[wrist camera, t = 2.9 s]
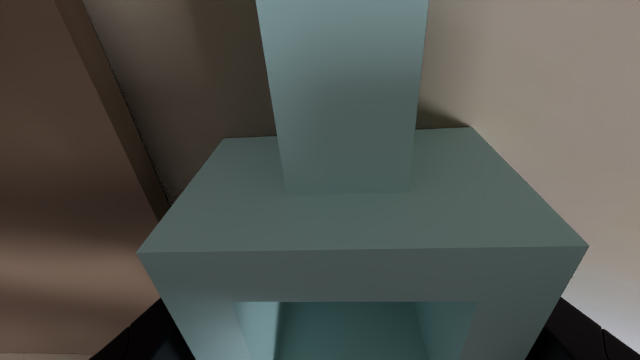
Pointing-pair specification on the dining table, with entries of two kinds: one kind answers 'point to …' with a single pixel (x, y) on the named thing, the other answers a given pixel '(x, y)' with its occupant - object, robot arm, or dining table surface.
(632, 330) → the dining table surface
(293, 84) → the collar
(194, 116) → the dining table surface
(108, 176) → the board
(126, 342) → the robot arm
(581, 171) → the dining table surface
